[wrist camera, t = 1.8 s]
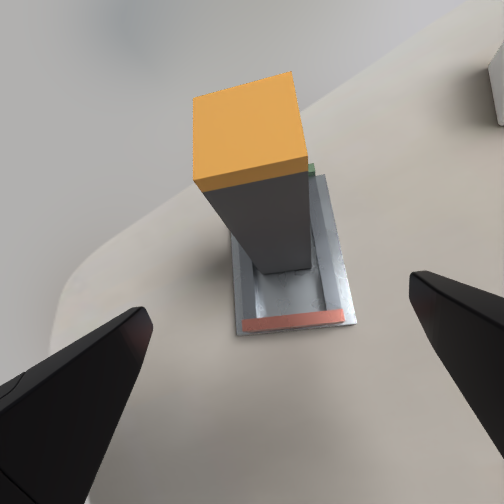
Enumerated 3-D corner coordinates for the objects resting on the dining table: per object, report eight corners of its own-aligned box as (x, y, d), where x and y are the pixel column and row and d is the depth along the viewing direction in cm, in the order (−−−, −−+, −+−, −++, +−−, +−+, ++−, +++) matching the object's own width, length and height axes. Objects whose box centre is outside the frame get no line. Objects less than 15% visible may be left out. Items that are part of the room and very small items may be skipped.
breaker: (311, 267, 21) (307, 155, 9) (261, 274, 21) (192, 180, 9) (304, 222, 22) (291, 71, 10) (257, 230, 23) (192, 97, 11)
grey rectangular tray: (355, 324, 20) (361, 320, 17) (240, 335, 21) (229, 334, 19) (324, 180, 24) (325, 159, 22) (231, 198, 26) (221, 181, 23)
